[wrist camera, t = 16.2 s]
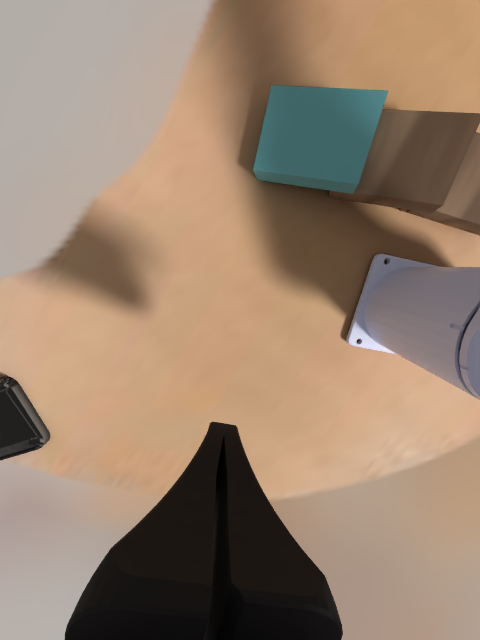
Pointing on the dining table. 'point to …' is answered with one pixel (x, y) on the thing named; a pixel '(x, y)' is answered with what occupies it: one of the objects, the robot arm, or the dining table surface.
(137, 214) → the dining table surface
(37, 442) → the phone
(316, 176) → the domino teal placed
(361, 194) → the domino
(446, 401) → the dining table surface
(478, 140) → the domino
